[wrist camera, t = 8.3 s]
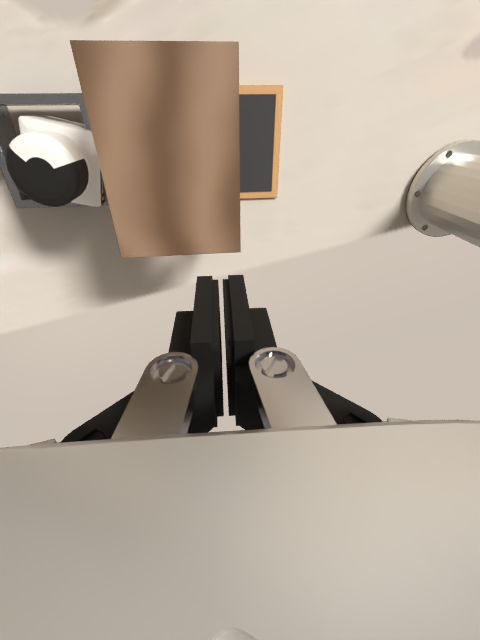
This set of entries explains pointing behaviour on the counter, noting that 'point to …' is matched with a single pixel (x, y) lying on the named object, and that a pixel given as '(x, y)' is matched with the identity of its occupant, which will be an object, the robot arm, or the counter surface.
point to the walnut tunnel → (166, 141)
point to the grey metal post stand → (4, 132)
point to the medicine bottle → (55, 162)
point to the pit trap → (259, 139)
